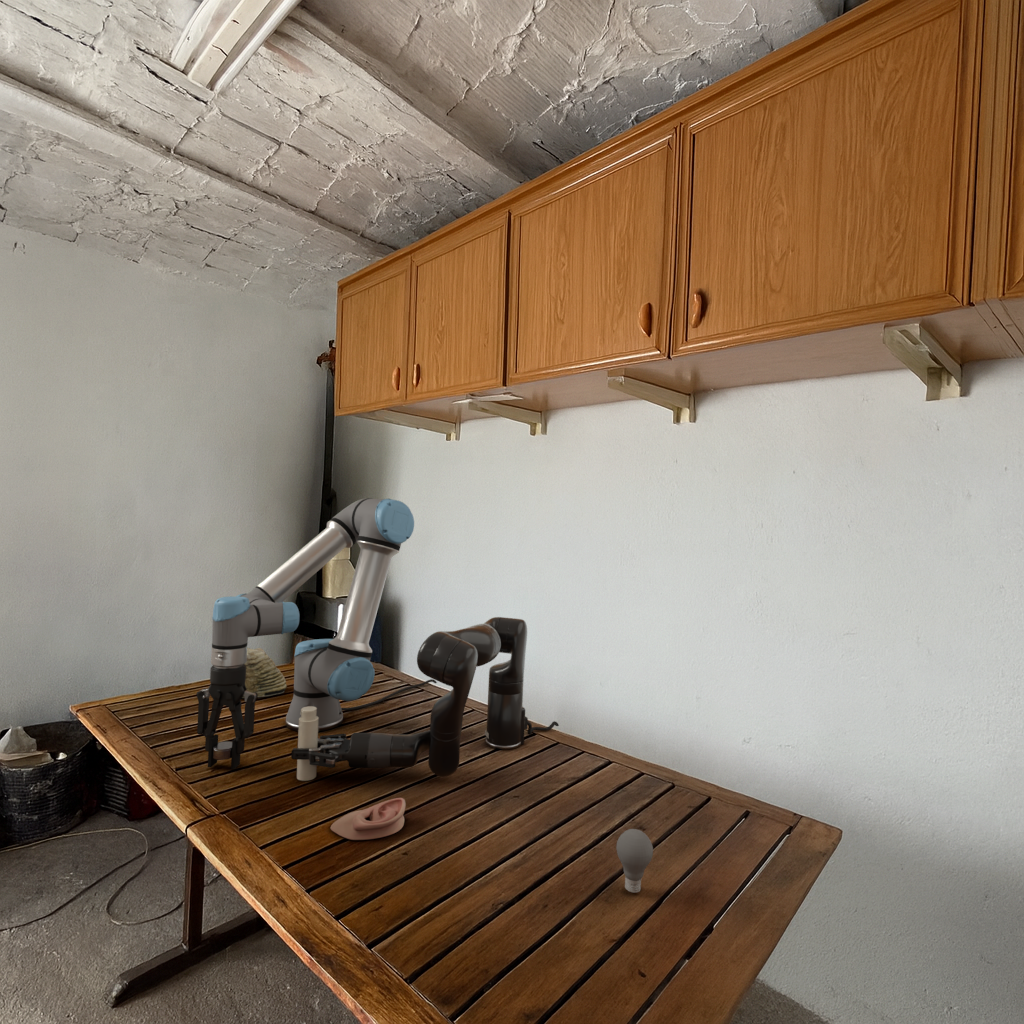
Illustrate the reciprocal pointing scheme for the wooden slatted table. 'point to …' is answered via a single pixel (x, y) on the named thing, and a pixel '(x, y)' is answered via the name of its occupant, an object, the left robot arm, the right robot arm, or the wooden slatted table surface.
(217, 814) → the wooden slatted table surface
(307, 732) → the beige cylinder
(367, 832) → the anatomical model
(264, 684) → the fossil
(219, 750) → the lid
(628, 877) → the light bulb
